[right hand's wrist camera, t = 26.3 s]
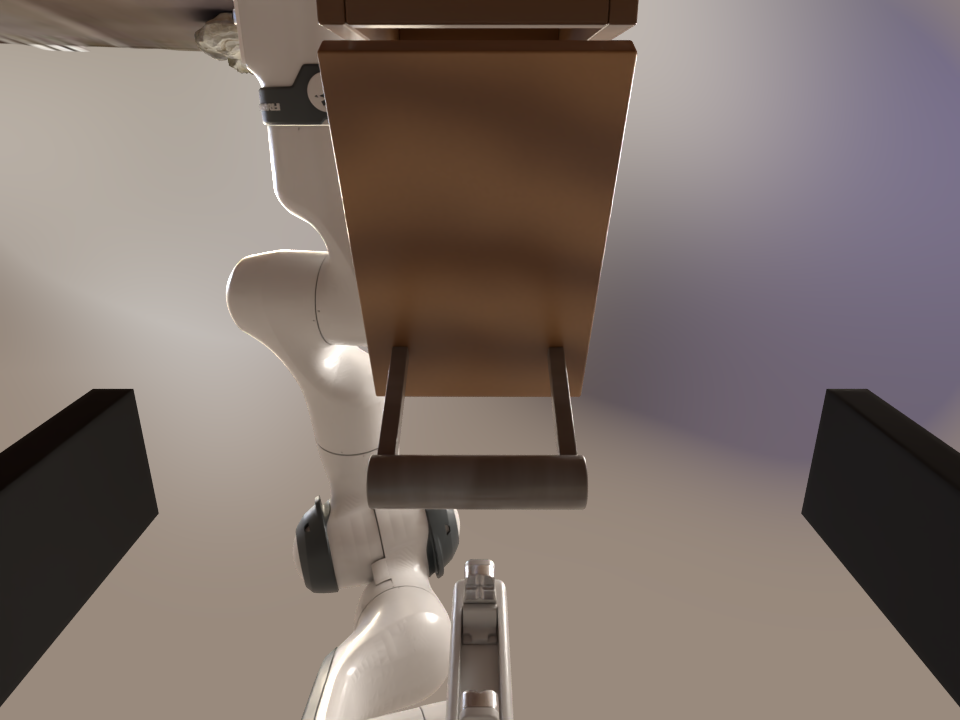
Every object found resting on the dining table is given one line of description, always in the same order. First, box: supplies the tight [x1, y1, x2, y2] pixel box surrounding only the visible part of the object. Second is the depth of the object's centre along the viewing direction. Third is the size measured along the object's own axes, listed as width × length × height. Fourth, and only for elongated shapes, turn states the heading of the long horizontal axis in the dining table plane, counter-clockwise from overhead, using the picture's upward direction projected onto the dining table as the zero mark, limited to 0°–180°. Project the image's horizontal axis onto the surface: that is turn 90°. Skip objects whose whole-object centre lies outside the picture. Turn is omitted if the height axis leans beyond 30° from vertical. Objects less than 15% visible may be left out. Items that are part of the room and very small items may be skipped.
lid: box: [317, 40, 637, 509], centre depth 23 cm, size 16×10×9 cm
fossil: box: [194, 13, 254, 75], centre depth 95 cm, size 18×11×15 cm
